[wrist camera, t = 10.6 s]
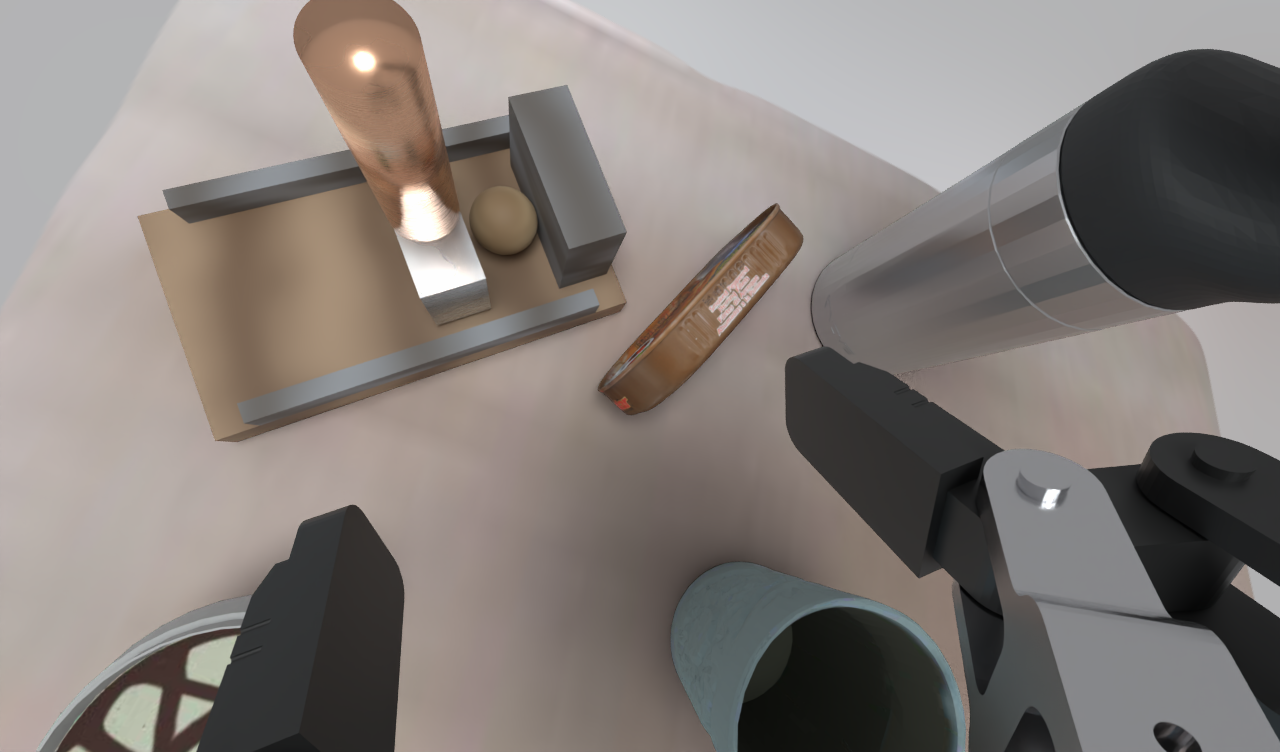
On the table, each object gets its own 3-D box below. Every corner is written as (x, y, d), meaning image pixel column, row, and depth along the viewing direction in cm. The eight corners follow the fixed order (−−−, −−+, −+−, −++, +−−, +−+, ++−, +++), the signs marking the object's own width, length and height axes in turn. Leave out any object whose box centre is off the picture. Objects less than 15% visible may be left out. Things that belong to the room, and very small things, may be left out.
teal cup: (831, 677, 33) (1003, 797, 21) (688, 760, 30) (795, 950, 18) (772, 522, 33) (908, 556, 22) (627, 590, 31) (693, 670, 19)
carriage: (442, 177, 29) (370, -94, 15) (493, 308, 29) (468, 158, 14) (384, 191, 29) (247, -81, 14) (435, 326, 28) (346, 186, 14)
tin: (732, 236, 36) (795, 171, 28) (765, 268, 36) (837, 212, 28) (584, 394, 32) (607, 372, 24) (622, 429, 32) (657, 419, 24)
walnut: (523, 198, 31) (524, 165, 27) (545, 254, 30) (549, 228, 27) (462, 214, 30) (455, 182, 26) (485, 272, 30) (481, 247, 26)
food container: (266, 521, 27) (128, 555, 17) (383, 562, 28) (311, 617, 18) (127, 777, 24) (-131, 987, 15) (261, 814, 25) (101, 1035, 16)
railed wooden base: (552, 140, 34) (562, 47, 26) (620, 311, 33) (651, 266, 25) (163, 232, 28) (29, 147, 20) (236, 442, 27) (125, 435, 20)
